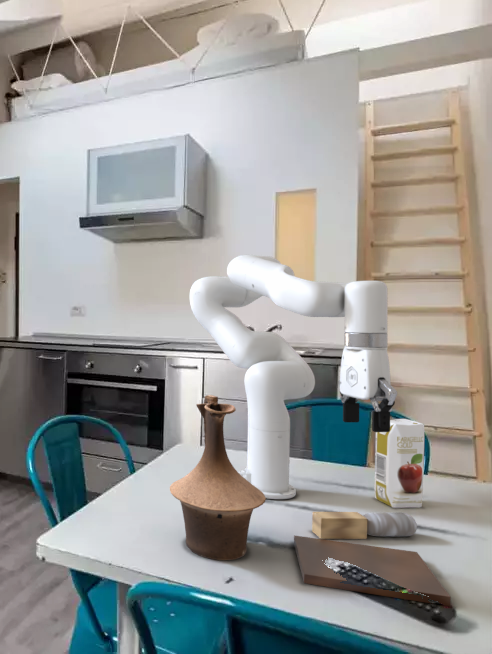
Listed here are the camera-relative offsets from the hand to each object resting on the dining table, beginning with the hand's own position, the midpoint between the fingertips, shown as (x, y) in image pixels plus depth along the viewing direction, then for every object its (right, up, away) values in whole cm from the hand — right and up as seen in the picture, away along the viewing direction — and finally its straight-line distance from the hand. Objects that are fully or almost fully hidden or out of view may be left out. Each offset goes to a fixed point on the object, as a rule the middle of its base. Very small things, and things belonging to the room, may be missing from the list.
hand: (365, 426), depth 110 cm
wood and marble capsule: (-1, -21, -3) cm, 21 cm away
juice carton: (+17, -21, +15) cm, 31 cm away
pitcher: (-33, -21, -9) cm, 40 cm away
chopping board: (-11, -21, -18) cm, 29 cm away
